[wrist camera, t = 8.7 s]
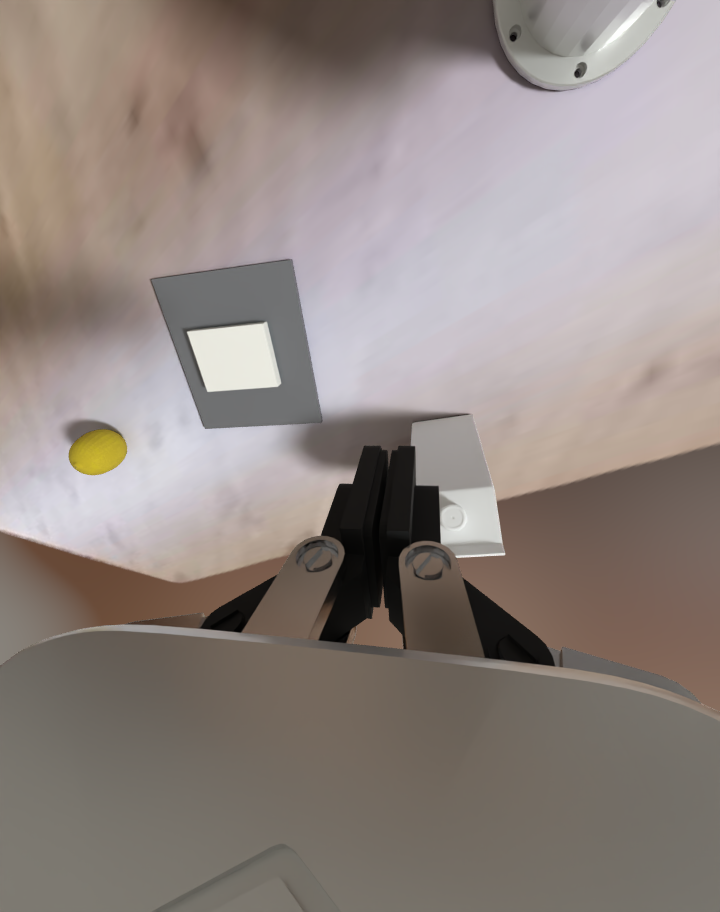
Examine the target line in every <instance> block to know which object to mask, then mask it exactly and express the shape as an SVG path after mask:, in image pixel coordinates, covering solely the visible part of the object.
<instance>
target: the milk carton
mask: <svg viewBox="0 0 720 912" xmlns="http://www.w3.org/2000/svg"><path fill="white" fill-rule="evenodd" d="M411 446H415V449H416V485H424V486H439V504H440V533H441V544H442V545H444V546H446V547H448V548H449V549H450V550H451V551H452V552H453V553H454V554H455V556H456V558H457V557H458V558H459V557H477V556H495V555H505V551H504V547H503V544H502V536H501V530H500V523H499V517H498V510H497V503H496V497H495V490H494V486H493V482H492V479H491V476H490V472H489V469H488V465H487V462H486V459H485V455H484V452H483V448H482V445H481V441H480V438H479V435H478V431H477V428H476V424H475V421H474V418H473V415H463V416H456V417H449V418H442V419H435V420H428V421H421V422H415V423H412V432H411Z"/></svg>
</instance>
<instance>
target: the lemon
mask: <svg viewBox="0 0 720 912" xmlns="http://www.w3.org/2000/svg"><path fill="white" fill-rule="evenodd" d="M126 454H127V445H126V442H125V440H124V439H123V437H122V436H121V435H119V434H118V433H116V432H114V431H111V430H107V429H99V430H94V431H91V432H88V433H86V434H84V435H83V436H81V437H80V438H79V439H77V440H76V441H75V442H74V443H73V445H72V446H71V448H70V450H69V461H70V463H71V465H72V466H73V467H74V468H75V469H76V470H77V471H79V472H81V473H83V474H87V475H99V474H103V473H106V472H108V471H110V470H112V469H114V468H116V467H117V466H118V465H119V464H120V463H121V462H122V461H123V460H124V458H125V456H126Z"/></svg>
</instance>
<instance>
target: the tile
mask: <svg viewBox="0 0 720 912" xmlns="http://www.w3.org/2000/svg"><path fill="white" fill-rule="evenodd" d="M187 333H188V336H189V339H190V342H191V345H192V348H193V351H194V354H195V357H196V360H197V363H198V366H199V369H200V372H201V375H202V378H203V381H204V383H205V386H206V389H207V392H214V391H227V390H241V389H255V388H268V387H278V386H279V385H280V384H281V380H280V375H279V371H278V367H277V363H276V358H275V354H274V350H273V345H272V341H271V337H270V333H269V328H268V324H267V322H258V323H248V324H239V325H230V326H221V327H212V328H203V329H194V330H190V331H188V332H187Z"/></svg>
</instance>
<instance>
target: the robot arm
mask: <svg viewBox="0 0 720 912" xmlns="http://www.w3.org/2000/svg"><path fill="white" fill-rule="evenodd" d="M657 1H660V8H659V7H658V6H657ZM675 1H676V0H493V8H494V17H495V26H496V29H497V33H498V37H499V40H500V44H501V46H502V48H503V50H504V52H505V54H506V56H507V58H508V61H509V62H510V63H511V64H512V66H513V67H514V68H515V69H516V71H517V72H518V73H519V74H520V75H521V76H523V77H524V78H525V79H527V80H528V81H529V82H531V83H532V84H535V85H537V86H540V87H542V88H545V89H551V90H561V91H563V90H570V89H576V88H580V87H583V86H586V85H589V84H591V83H594V82H596V81H598V80H600V79H601V78H603V77H605V76H606V75H608V74H610V73H611V72H613V71H615V70H616V69H617V68H618V67H619V66H621V65H622V64H623V63H624V62H626V61H627V60H628V59H629V58H630V57H631V56H632V55H633V54H634V53H635V52H636V51H637V50H638V49H640V48H641V47H642V46H643V45H644V44H645V43H646V41H647V40H648V39H649V38H650V36H651V35H652V34H653V33H654V32H655V30H656V29H657V28H658V27H659V25H660V24H661V23H662V21H663V20H664V18H665V17H666V15H667V14H668V12H669V11H670V9H671V8H672V6H673V4H674V3H675ZM511 35H515V36H516V41H514V42H511V40H510V36H511ZM575 71H579V74H580V75H579V77H578V78H576V77H575V76H574V72H575ZM382 589H384V601H385V608H389V620H390V622H391V623H392V624H393V625H394V626H395V627H396V628H397V629H398V630H399V632H400V633H401V634H402V639H403V649H395V648H385V647H376V646H366V645H357V644H353V641H354V638H355V635H356V626H357V625H358V624H359V623H361V622H362V621H364V620H365V619H366V618H369V619H372V613H373V607H380V604H381V596H382ZM0 912H720V712H719V711H717V710H714V709H712V708H710V707H707V706H705V705H703V704H701V703H700V701H698V699H697V698H696V697H695V696H694V695H693V694H692V693H691V692H690V691H688V690H687V689H685V688H684V687H683V686H681V685H680V684H679V683H677V682H675V681H673V680H670V679H668V678H666V677H663V676H660V675H657V674H654V673H650V672H647V671H644V670H640V669H637V668H633V667H630V666H626V665H623V664H620V663H617V662H613V661H609V660H606V659H603V658H599V657H596V656H592V655H589V654H586V653H582V652H579V651H576V650H572V649H569V648H565V647H562V649H561V651H559V650H555V649H552V648H549V647H547V646H546V644H545V643H544V642H543V641H542V640H541V639H540V638H538V636H536V635H535V634H534V633H532V632H531V631H530V630H529V629H527V628H526V627H525V626H524V625H522V624H521V623H520V622H519V621H517V620H516V619H515V618H513V617H512V616H511V615H510V614H508V613H507V612H506V611H504V610H503V609H502V608H501V607H499V606H498V605H497V604H496V603H494V602H493V601H492V600H490V599H489V598H488V597H487V596H485V595H484V594H483V593H482V592H480V591H479V590H478V589H476V588H475V587H474V586H473V585H471V584H470V583H469V582H468V581H466V580H465V579H464V578H462V574H461V571H460V567H459V564H458V561H457V558H456V556H455V554H454V553H453V552H452V551H451V550H450V549H449V548H448V547H446V546H444V545H442V544H441V533H440V504H439V486H424V485H416V449H415V446H399V447H398V450H392V453H391V459H390V465H389V466H388V452H387V450H382V448H381V446H364V448H363V451H362V455H361V458H360V461H359V465H358V468H357V471H356V475H355V478H354V481H353V484H339V486H338V488H337V491H336V494H335V497H334V500H333V502H332V505H331V508H330V511H329V514H328V517H327V519H326V522H325V525H324V528H323V531H322V534H321V536H316V537H311V538H308V539H306V540H304V541H302V542H301V543H299V544H298V545H297V546H296V547H295V548H294V550H293V551H292V552H291V554H290V555H289V557H288V559H287V560H286V562H285V564H284V565H283V567H282V569H281V570H280V572H279V573H278V575H276V576H274V577H272V578H271V579H269V580H267V581H265V582H264V583H262V584H260V585H258V586H256V587H255V588H253V589H251V590H249V591H247V592H246V593H244V594H242V595H241V596H239V597H237V598H235V599H234V600H232V601H230V602H228V603H226V604H225V605H223V606H221V607H219V608H218V609H216V610H215V611H214V612H212V613H211V614H210V615H209V616H207V617H205V616H204V614H203V613H197V614H189V615H181V616H174V617H165V618H158V619H150V620H143V621H135V622H131V623H128V624H124V625H108V626H98V627H92V628H85V629H79V630H75V631H72V632H68V633H64V634H60V635H56V636H53V637H50V638H47V639H45V640H42V641H40V642H37V643H35V644H33V645H30V646H29V647H27V648H25V649H23V650H21V651H20V652H18V653H17V654H15V655H14V656H12V657H11V658H10V659H8V660H7V661H5V662H4V663H3V664H2V665H0Z"/></svg>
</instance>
